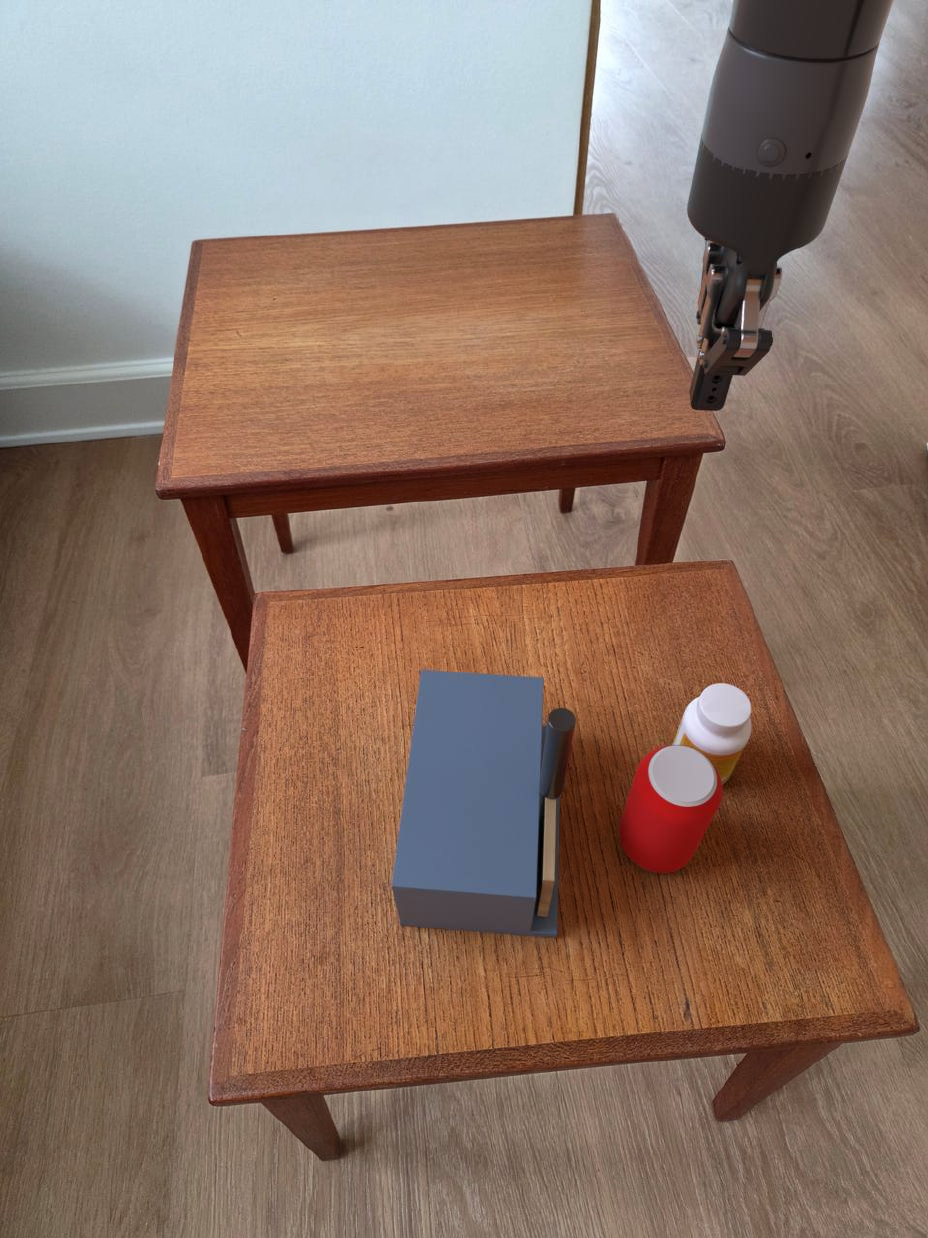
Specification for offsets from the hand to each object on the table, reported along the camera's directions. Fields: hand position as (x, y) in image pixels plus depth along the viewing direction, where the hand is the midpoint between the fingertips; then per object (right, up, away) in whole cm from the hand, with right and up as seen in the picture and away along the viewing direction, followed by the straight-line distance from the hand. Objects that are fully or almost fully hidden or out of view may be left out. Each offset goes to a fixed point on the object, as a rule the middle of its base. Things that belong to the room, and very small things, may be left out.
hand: (705, 403), depth 58 cm
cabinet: (-16, -31, +13) cm, 37 cm away
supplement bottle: (+4, -27, +16) cm, 32 cm away
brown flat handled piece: (-10, -34, +9) cm, 37 cm away
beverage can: (-1, -33, +12) cm, 35 cm away
